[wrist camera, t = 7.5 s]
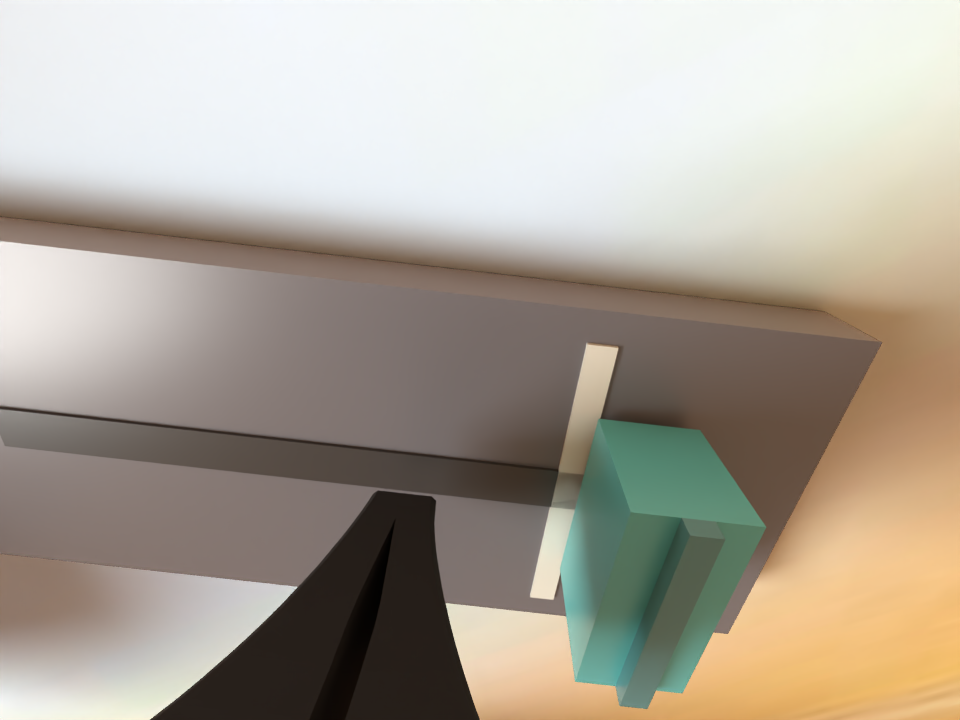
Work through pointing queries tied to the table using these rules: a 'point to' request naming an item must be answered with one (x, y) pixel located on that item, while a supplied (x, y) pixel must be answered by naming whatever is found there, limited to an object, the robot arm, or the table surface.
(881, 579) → the table surface
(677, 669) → the fader tab
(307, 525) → the fader console
